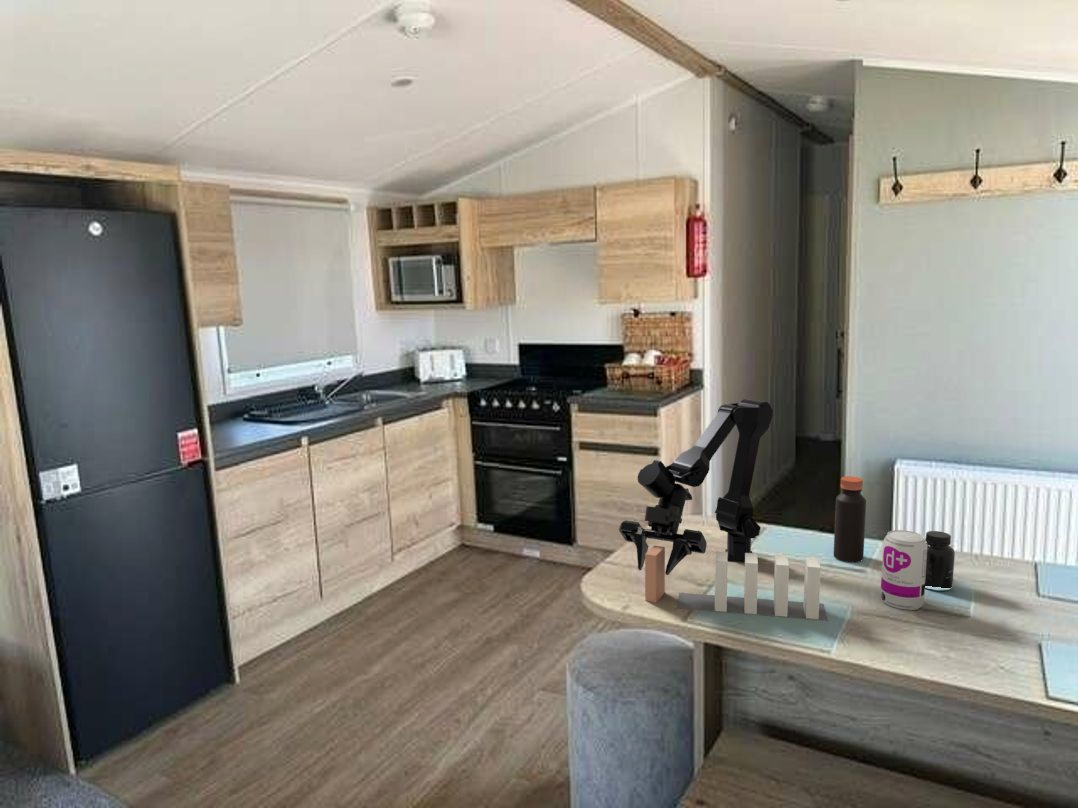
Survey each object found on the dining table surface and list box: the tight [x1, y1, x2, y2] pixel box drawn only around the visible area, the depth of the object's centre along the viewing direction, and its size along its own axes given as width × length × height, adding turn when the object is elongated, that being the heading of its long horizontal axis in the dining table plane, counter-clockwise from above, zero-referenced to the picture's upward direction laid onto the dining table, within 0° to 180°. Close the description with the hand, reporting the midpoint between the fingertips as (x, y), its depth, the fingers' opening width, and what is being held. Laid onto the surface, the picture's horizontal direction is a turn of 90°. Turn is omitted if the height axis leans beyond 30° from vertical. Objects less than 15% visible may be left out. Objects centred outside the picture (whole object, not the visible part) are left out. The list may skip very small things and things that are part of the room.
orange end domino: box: [644, 545, 666, 604], centre depth 162 cm, size 2×6×11 cm, turn 151°
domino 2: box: [743, 552, 759, 615], centre depth 156 cm, size 2×6×11 cm, turn 166°
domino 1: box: [714, 550, 728, 613], centre depth 157 cm, size 2×6×11 cm, turn 166°
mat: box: [676, 592, 829, 622], centre depth 157 cm, size 8×30×1 cm, turn 76°
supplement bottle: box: [924, 530, 956, 589], centre depth 165 cm, size 7×7×12 cm
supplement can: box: [879, 529, 927, 611], centre depth 156 cm, size 8×8×15 cm
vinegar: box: [833, 476, 867, 563], centre depth 181 cm, size 7×7×20 cm
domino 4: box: [803, 556, 822, 620], centre depth 153 cm, size 2×6×11 cm, turn 166°
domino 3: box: [773, 554, 790, 618], centre depth 154 cm, size 2×6×11 cm, turn 166°
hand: (652, 571), depth 161 cm, fingers open, 6 cm apart
